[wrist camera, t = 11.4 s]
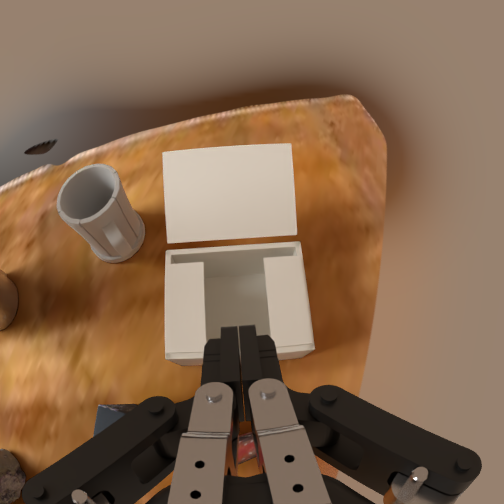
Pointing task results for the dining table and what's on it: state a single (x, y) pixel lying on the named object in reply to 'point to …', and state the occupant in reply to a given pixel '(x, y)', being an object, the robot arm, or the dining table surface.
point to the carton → (236, 298)
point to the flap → (229, 193)
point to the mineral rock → (10, 477)
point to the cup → (101, 213)
